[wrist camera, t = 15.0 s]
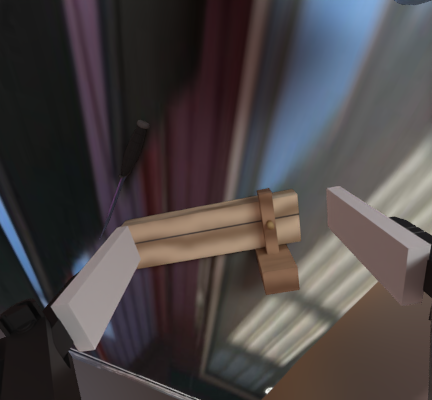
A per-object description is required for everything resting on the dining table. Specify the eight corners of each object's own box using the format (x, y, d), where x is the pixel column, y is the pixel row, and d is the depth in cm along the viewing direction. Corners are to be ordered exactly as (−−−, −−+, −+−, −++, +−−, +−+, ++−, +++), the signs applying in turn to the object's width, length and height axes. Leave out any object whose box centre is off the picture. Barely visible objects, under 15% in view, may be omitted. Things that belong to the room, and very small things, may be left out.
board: (125, 220, 47) (119, 227, 44) (292, 189, 44) (297, 194, 42) (141, 260, 51) (136, 269, 48) (296, 233, 48) (301, 241, 45)
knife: (142, 118, 40) (132, 118, 36) (154, 124, 41) (147, 125, 36) (101, 230, 47) (88, 242, 43) (112, 234, 48) (101, 247, 43)
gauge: (244, 187, 44) (251, 207, 35) (275, 181, 44) (291, 200, 35) (257, 260, 51) (266, 294, 41) (284, 256, 50) (299, 289, 41)
